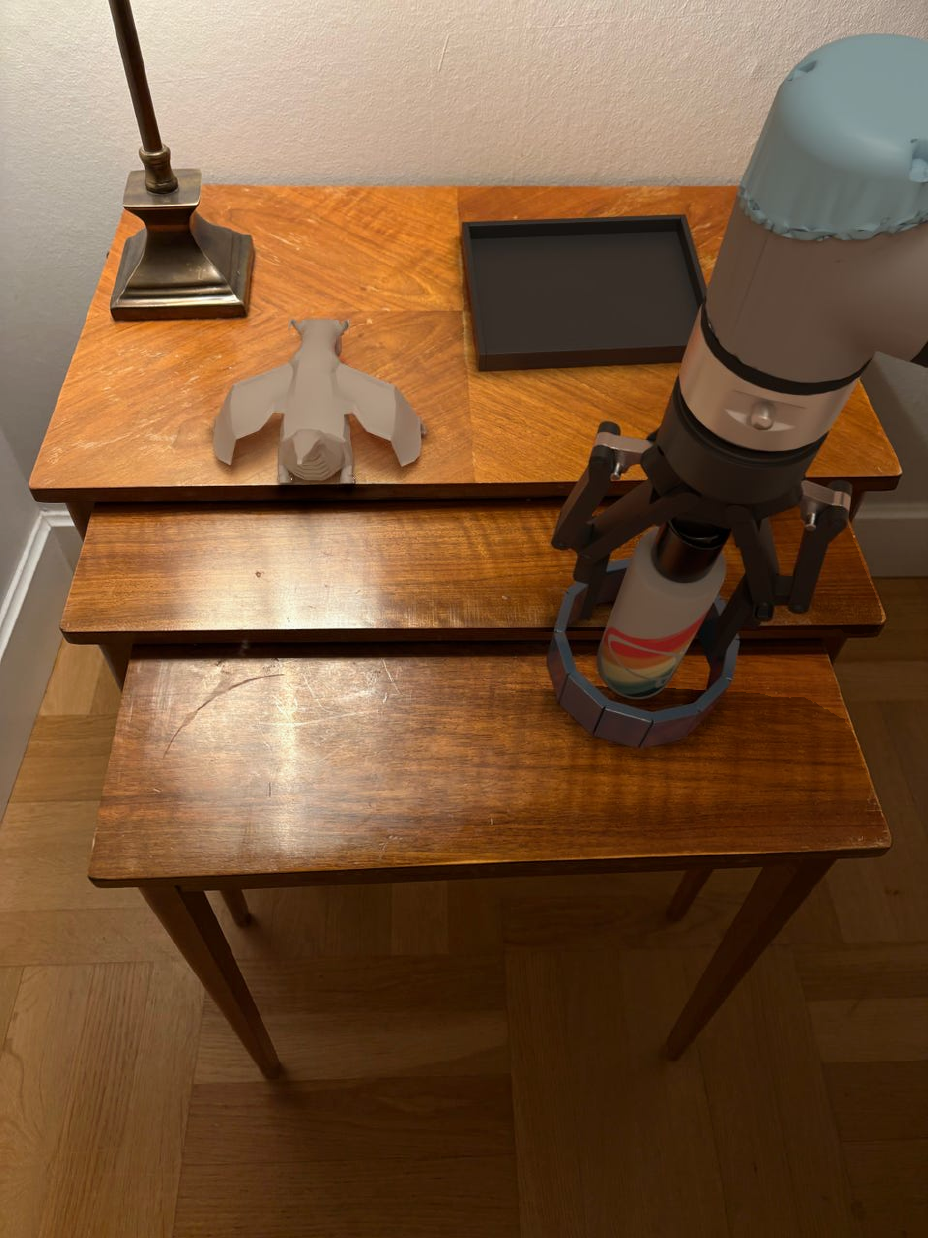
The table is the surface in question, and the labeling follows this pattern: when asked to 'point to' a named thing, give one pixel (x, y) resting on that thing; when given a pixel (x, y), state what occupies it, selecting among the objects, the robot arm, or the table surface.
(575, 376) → the table surface
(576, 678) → the segmented bangle bracelet
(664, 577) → the white cylindrical bottle
